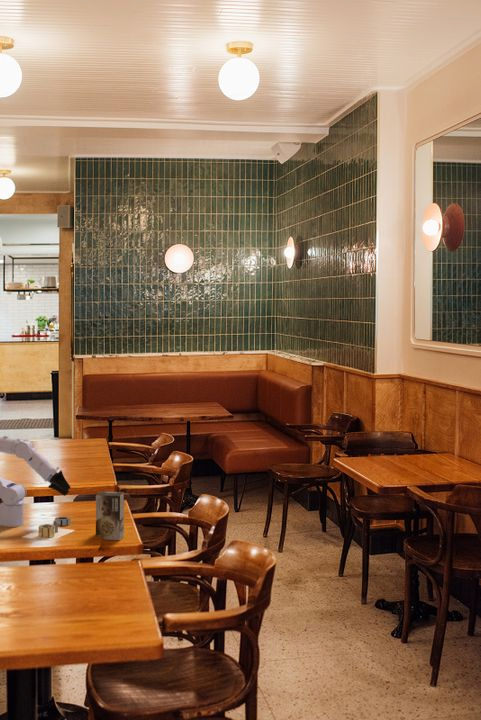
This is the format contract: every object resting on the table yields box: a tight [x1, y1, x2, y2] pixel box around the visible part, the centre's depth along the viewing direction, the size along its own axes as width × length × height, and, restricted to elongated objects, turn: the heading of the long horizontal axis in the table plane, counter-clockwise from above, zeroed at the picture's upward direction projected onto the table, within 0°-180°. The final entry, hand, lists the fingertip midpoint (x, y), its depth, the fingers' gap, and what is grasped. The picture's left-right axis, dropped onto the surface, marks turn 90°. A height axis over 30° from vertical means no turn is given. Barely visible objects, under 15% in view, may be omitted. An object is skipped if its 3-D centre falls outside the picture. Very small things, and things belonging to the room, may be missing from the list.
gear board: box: [22, 520, 76, 542], centre depth 292 cm, size 12×16×5 cm
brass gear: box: [38, 523, 55, 538], centre depth 289 cm, size 6×6×3 cm
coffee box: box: [95, 490, 125, 541], centre depth 293 cm, size 9×6×16 cm
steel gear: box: [54, 516, 71, 527], centre depth 306 cm, size 6×6×3 cm
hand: (67, 491), depth 301 cm, fingers open, 7 cm apart
